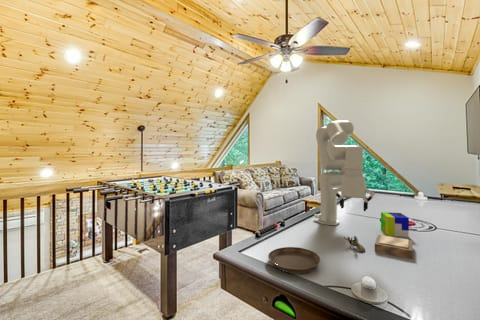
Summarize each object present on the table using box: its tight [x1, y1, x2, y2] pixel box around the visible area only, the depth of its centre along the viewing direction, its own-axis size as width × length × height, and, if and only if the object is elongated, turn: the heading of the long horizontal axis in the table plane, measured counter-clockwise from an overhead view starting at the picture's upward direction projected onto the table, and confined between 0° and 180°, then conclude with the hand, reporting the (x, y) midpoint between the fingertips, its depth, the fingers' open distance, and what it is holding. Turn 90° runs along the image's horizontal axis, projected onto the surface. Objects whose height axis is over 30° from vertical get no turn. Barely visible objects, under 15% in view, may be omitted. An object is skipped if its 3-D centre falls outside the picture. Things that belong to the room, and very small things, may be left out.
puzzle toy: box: [380, 211, 410, 238], centre depth 135 cm, size 10×10×10 cm
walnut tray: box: [374, 234, 414, 260], centre depth 113 cm, size 14×14×4 cm
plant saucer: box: [267, 246, 321, 275], centre depth 100 cm, size 21×21×3 cm
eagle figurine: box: [343, 235, 366, 254], centre depth 114 cm, size 8×7×9 cm
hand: (353, 209), depth 115 cm, fingers open, 9 cm apart
